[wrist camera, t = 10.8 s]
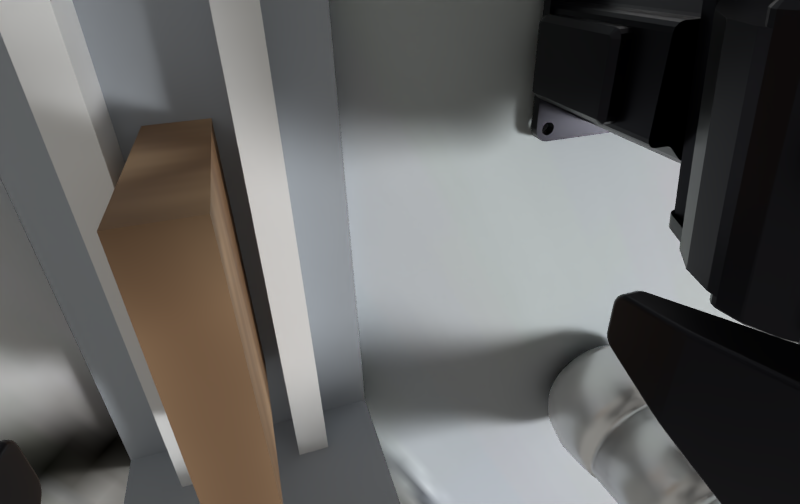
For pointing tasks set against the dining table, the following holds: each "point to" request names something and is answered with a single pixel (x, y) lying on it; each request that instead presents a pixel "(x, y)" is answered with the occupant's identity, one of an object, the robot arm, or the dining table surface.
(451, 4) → the dining table surface
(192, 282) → the door panel
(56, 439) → the dining table surface
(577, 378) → the plastic bottle
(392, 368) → the dining table surface
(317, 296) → the track board
